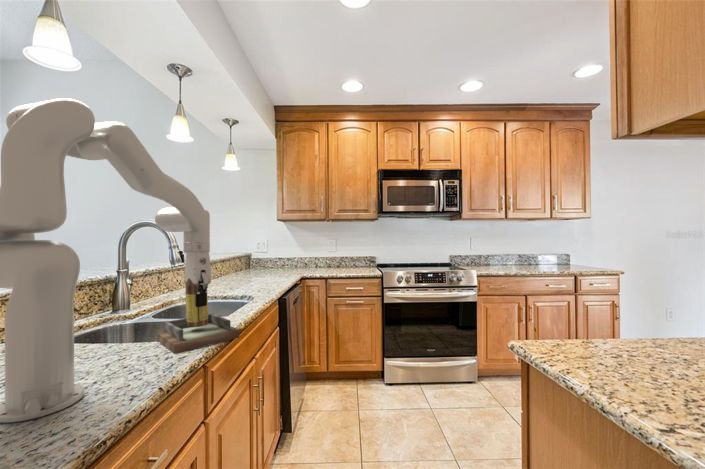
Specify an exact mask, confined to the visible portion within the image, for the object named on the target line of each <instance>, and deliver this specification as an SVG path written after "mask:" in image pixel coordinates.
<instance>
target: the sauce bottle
mask: <svg viewBox="0 0 705 469" xmlns="http://www.w3.org/2000/svg"><path fill="white" fill-rule="evenodd" d="M185 282H186V281H185ZM199 283H202V282H199ZM184 286H185V314H186V315H185V316H186V318H187V325H188V326H189V327H200V326H204V325H206V324H208V314H209V303H208V301H209V300H208V297H207V305H206V306H202V307H196V294H197V291H196V285H194V284H193V283H192V281H191V279H190V278H189V279H188V280H187V282H186V283H185V285H184ZM200 287H201V286H199V289H200Z"/></svg>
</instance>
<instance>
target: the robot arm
mask: <svg viewBox="0 0 705 469" xmlns="http://www.w3.org/2000/svg"><path fill="white" fill-rule="evenodd" d="M5 124H6V126H7V127H6V128H7V129H8V130H7V132H6V134H5V136H4V138H3V141H2V144H1V150H0V289H12V290H11V294H10V296H9V298H8V302H7V303H6V304H7V305H6V307H5V308H6V309H5V313H4V314H5V315H4V401H3V402H1V403H0V423H5V424H6V423H17V422H23V421H29V420H33V419H38V418H41V417H45V416H48V415H51V414H54V413H56V412H59V411H61V410H63V409H66V408H68V407H70V406H72V405H74V404H75V403H77V402H78V401H79V400H81V399H82V398H83V397H84V396H85V387H84V386H83V385H81V384H78V383H75V296H76V295H75V294H76V288H77V283H78V279H79V276H80V271H81V262H80V257H79V255H78V254H77V252H76V251H75V249H73V247H71V246H69V245H68V244H66V243H63V242H60V241H56V240H48V239H35V234H40V233H47V232H52V231H55V230H58V229H59V228H60V227H62V226H63V225H64V224H65V221H66V220H67V214H68V213H67V212H68V211H67V210H68V207H67V199H66V198H67V195H66V186H65V185H66V184H65V160H66V157H72V158H76V159H80V160H81V159H82V160H85V161H86V160H87V161H102V160H106V161H107V162H109V164H110V165H111V166H112V167H113V168H114V170H115V171H116V172H117V173H118V174H119V175H120V177H121V178H122V179H123V180H124V181H125V183H126V184H127V185H128V186H129V187H130V188H131V189H132V190H134V191H135V192H137V193H140V194H142V195H146V196H150V197H152V198H155V199H159V200H160V201H164V202H165V203H167V204H169V205H171V206H167V207H163V208H160V209H159V210H158V211H157V212H156V214H155V216H154V222H155V224H156V226H157V227H158V228H159V229H160V230H162V231H164V232H167V233H180V232H181V233H182V232H183V254H185V264H184V281H185V282H187V280H188V279H189V278H190V279H191V281H192V283H193V284H194V285H196V291H197V294H196V307H202V306H206V305H207V298H208V288H209V284H211V283H212V267H211V264H212V263H211V256H210V252H211V243H210V242H211V241H210V240H211V238H210V236H211V235H210V234H211V232H210V230H211V228H210V227H211V226H210V224H211V222H210V220H211V217H210V212H209V210H206V209H205V208H204V206H203V204H202V203H201V202H200V200H199V199H198V197H197V196H196V194H195V193H194V192H192V191H191V190H190V189H189V187H187V186H185V185H184V184H182V183H181V182H179V181H178V180H176V179H175V178H173V177H171V176H170V175H169V174H166V173H165V172H163V170H162V169H161V168H160V167H159V165H158V164H157V162H156V161H155V160H154V158H153V157H152V156H151V154H150V153H149V152H148V150H147V149H146V147H145V146H144V145H143V143H142V142H141V140H140V139H139V138H138V137H137V135H136V134H135V133H134V131H133V130H132V128H130V127H129V126H128V125H126V124H125V123H123V122H119V121H103V122H102V121H101V122H96V117H95V114H94V113H93V111H92V110H91V108H90V106H88V105H87V104H86V103H83V102H82V101H79V100H76V99H73V98H66V97H65V98H64V97H63V98H54V99H50V100H44V101H38V102H35V103H33V102H32V103H28V104H23V105H19V106H16V107H14V108H12V109H11V110H10V111H9V112H8V113H7V115H6V120H5ZM199 282H202V283H199ZM199 286H201V287H200V289H199Z"/></svg>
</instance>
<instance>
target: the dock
mask: <svg viewBox="0 0 705 469" xmlns="http://www.w3.org/2000/svg"><path fill="white" fill-rule="evenodd" d="M163 324H164V325H163V326H164V327H163V328H164V331H161V332H157V333H156V334H157V335H156V339H157V340H156V341H157V342H158V343H159V342H160V343H159V344H160V345H162V346H163V347H164V348H166V349H167V350H168V351H170V352H171V353H173V354H174V355H175V354H179V353H182V352H187V351H190V350H194V349H198V348H202V347H203V348H204V347H207V346H210V345H216V344H219V343H224V342H227V341H231V340H234V339H235V340H236V339H239V338H240V329H238V328H236V327H234V326H231V319H228V318H225V317H222V316H220V315H218V314H215V313H208V324H206V325H204V326H200V327H189V326H188V325H187V318H185V317H184V318H181V319H179V318H178V319H174V320H168V321H164V323H163Z"/></svg>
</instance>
